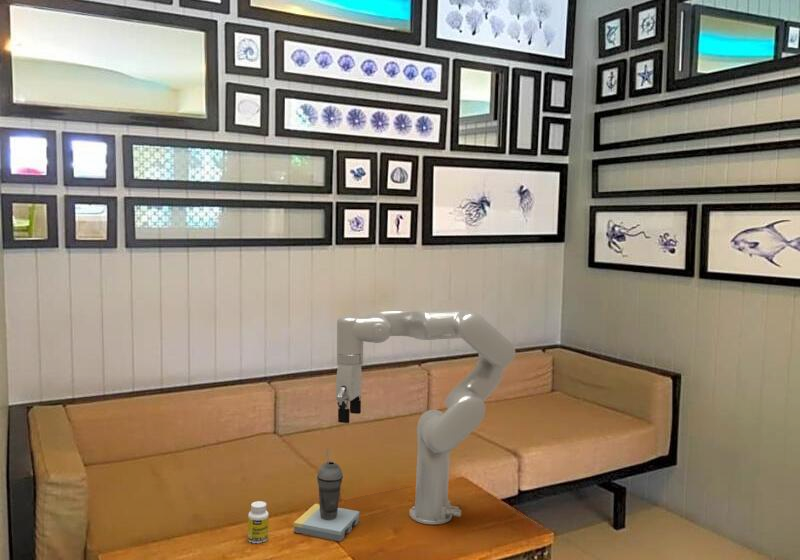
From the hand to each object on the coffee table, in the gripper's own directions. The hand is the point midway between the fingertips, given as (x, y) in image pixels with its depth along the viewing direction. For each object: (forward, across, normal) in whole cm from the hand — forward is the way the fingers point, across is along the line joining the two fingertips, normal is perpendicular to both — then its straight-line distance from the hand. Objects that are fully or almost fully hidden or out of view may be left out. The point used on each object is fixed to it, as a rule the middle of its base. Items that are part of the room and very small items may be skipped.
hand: (349, 417), depth 192 cm
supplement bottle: (+29, +21, -18) cm, 40 cm away
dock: (+30, +8, -4) cm, 31 cm away
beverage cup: (+27, +8, -3) cm, 28 cm away
